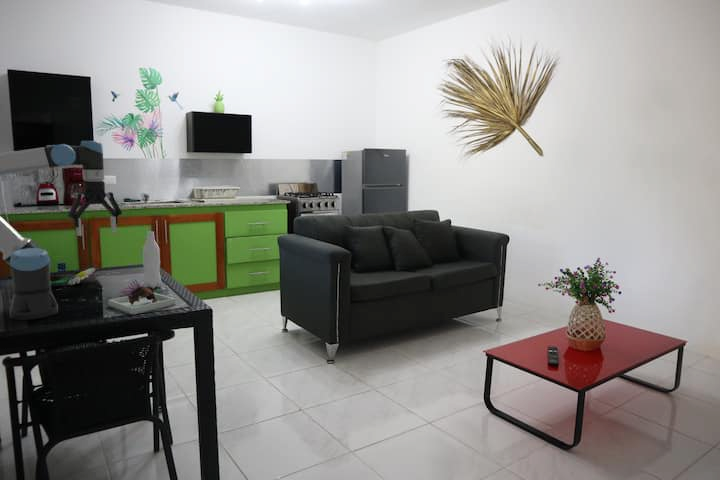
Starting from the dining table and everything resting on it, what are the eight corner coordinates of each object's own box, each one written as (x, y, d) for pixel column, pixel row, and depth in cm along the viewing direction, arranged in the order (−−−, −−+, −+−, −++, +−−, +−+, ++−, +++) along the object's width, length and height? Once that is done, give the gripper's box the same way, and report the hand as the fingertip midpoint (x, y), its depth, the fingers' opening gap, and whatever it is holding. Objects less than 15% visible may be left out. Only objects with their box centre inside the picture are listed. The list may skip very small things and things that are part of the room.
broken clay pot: (154, 309, 198) (142, 292, 195) (134, 318, 199) (121, 302, 196) (165, 293, 209) (153, 277, 206) (145, 302, 210) (133, 286, 207)
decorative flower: (26, 299, 218) (101, 279, 238) (23, 288, 217) (99, 269, 237) (20, 294, 227) (92, 276, 247) (17, 284, 226) (90, 266, 246)
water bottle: (146, 285, 235) (144, 230, 231) (163, 285, 236) (160, 230, 232) (141, 289, 228) (139, 232, 224) (158, 289, 229) (156, 232, 225)
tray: (132, 314, 190) (132, 308, 190) (108, 306, 201) (108, 300, 201) (175, 304, 204) (175, 298, 204) (150, 297, 215) (150, 291, 214)
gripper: (64, 181, 193) (68, 237, 196) (129, 180, 212) (131, 231, 216) (55, 180, 198) (59, 235, 201) (119, 179, 217) (122, 230, 220)
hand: (97, 233), depth 208 cm, fingers open, 13 cm apart
